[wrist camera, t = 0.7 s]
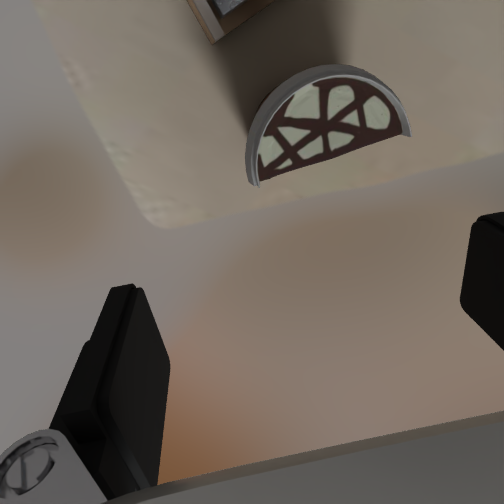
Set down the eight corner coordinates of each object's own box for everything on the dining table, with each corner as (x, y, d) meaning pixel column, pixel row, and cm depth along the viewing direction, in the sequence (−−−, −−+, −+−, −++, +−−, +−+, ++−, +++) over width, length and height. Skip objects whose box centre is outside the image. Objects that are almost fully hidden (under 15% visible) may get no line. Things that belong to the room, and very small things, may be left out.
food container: (353, 42, 31) (412, 36, 22) (363, 115, 34) (419, 134, 25) (217, 89, 32) (223, 101, 23) (239, 157, 34) (251, 190, 26)
